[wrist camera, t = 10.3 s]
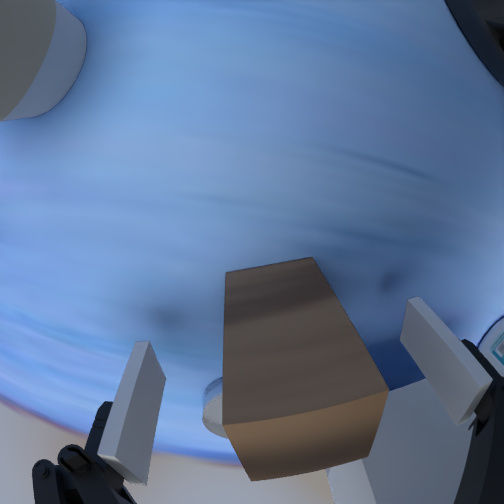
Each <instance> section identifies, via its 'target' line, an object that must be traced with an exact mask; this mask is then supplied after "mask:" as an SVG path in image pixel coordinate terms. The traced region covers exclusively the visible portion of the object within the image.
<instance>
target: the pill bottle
mask: <svg viewBox="0 0 504 504" xmlns="http://www.w3.org/2000/svg"><path fill="white" fill-rule="evenodd" d="M478 349H479V350H480V352H481V353H483V352H485V351H487V352H488V353H489V354H490V355H491V356H492V357H493V359H494V360H495V361H496V362H497V363H498V364H499V365H500V367H501V368H502V369H503V370H504V318H502V319H501V320H500V321H498V322H497V323H496V324H495V325H494V326H493V327H492V328H491V329H490V331H489V332H488V333H487V334H486V336H485V337H484V339H483V340H482V342H481V344H480V346H479V348H478Z"/></svg>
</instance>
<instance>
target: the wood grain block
mask: <svg viewBox="0 0 504 504" xmlns="http://www.w3.org/2000/svg"><path fill="white" fill-rule="evenodd" d="M388 392H389V388H388V386H387V384H386V382H385V381H384V379H383V377H382V375H381V373H380V371H379V370H378V368H377V366H376V364H375V362H374V360H373V359H372V357H371V355H370V353H369V352H368V350H367V348H366V346H365V344H364V343H363V341H362V339H361V337H360V336H359V334H358V332H357V330H356V329H355V327H354V325H353V324H352V322H351V320H350V318H349V317H348V315H347V313H346V312H345V310H344V308H343V306H342V305H341V303H340V301H339V300H338V298H337V296H336V295H335V293H334V291H333V290H332V288H331V286H330V285H329V283H328V282H327V280H326V278H325V277H324V275H323V273H322V272H321V270H320V269H319V267H318V265H317V264H316V262H315V261H314V259H313V257H309V258H304V259H298V260H293V261H288V262H282V263H277V264H271V265H266V266H260V267H255V268H249V269H243V270H238V271H232V272H226V276H225V303H224V336H223V385H222V426H223V428H224V430H225V432H226V434H227V436H228V438H229V440H230V442H231V444H232V446H233V448H234V450H235V452H236V454H237V456H238V458H239V460H240V462H241V463H242V465H243V467H244V469H245V471H246V473H247V474H248V476H249V478H250V480H251V481H259V480H267V479H274V478H280V477H287V476H293V475H299V474H303V473H309V472H314V471H318V470H322V469H327V468H331V467H335V466H338V465H342V464H346V463H349V462H353V461H356V460H359V459H363V458H366V457H368V456H369V453H370V450H371V448H372V445H373V442H374V439H375V436H376V433H377V430H378V427H379V424H380V420H381V417H382V414H383V410H384V407H385V403H386V400H387V396H388Z"/></svg>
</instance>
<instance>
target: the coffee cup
mask: <svg viewBox="0 0 504 504" xmlns="http://www.w3.org/2000/svg"><path fill="white" fill-rule="evenodd" d="M86 48H87V36H86V31H85V28H84V26H83V24H82V23H81V21H80V20H79V19H77V18H76V17H75V16H74V15H73V14H72V13H70V12H69V11H68V10H67V9H66V8H65V7H63V6H62V5H61V4H60V3H59V2H57V1H56V0H0V122H3V121H9V120H15V119H21V118H29V117H35V116H39V115H41V114H44V113H46V112H47V111H49V110H50V109H52V108H53V107H54V106H55V105H57V104H58V103H59V102H60V101H61V100H62V99H63V97H64V96H65V95H66V94H67V93H68V91H69V90H70V88H71V87H72V85H73V84H74V82H75V80H76V78H77V76H78V74H79V72H80V70H81V68H82V65H83V62H84V59H85V54H86Z"/></svg>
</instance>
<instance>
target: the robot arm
mask: <svg viewBox="0 0 504 504" xmlns="http://www.w3.org/2000/svg"><path fill="white" fill-rule="evenodd" d="M446 1H447V3H448V5H449V7H450V9H451V11H452V13H453V15H454V17H455V19H456V20H457V22H458V24H459V26H460V27H461V29H462V31H463V32H464V34H465V36H466V37H467V39H468V40H469V42H470V43H471V45H472V47H473V48H474V50H475V51H476V53H477V54H478V55H479V57H480V58H481V60H482V61H483V62H484V64H485V65H486V66H487V68H488V69H489V70H490V71H491V72H492V74H493V75H494V76H495V77H496V78H497V79H498V80H499V81H500V82H501V83H502V84H503V85H504V0H446ZM400 341H401V342H402V344H403V345H404V347H405V348H406V349H407V351H408V352H409V354H410V355H411V357H412V358H413V360H414V361H415V363H416V364H417V365H418V367H419V368H420V370H421V371H422V373H423V374H424V376H425V377H426V379H427V380H428V382H429V384H430V385H431V387H432V388H433V390H434V391H435V393H436V394H437V396H438V397H439V399H440V401H441V402H442V404H443V405H444V407H445V409H446V410H447V412H448V414H449V415H450V417H451V418H452V420H453V422H454V423H455V425H456V426H458V425H460V424H462V423H463V422H465V421H467V420H469V418H470V417H471V415H472V414H473V412H474V413H475V414H476V417H475V419H474V420H473V422H472V423H471V424H470V426H469V428H468V430H470V429H471V428H472V426H473V430H472V437H471V442H470V447H469V451H468V456H467V460H466V464H465V468H464V472H463V475H462V479H461V482H460V485H459V489H458V492H457V495H456V498H455V501H454V504H504V377H502V376H501V375H500V374H499V373H498V371H497V370H496V369H495V368H494V367H493V365H492V364H491V363H490V362H489V361H488V360H487V358H486V357H484V355H483V354H482V353H481V352H480V350H479V349H478V348H477V347H476V346H475V345H474V344H473V343H471V342H470V341H468V340H466V339H464V340H461V341H460V340H459V339H458V338H457V336H456V335H455V334H454V333H453V332H452V331H451V330H450V329H449V328H448V326H447V325H446V324H445V323H444V322H443V321H442V320H441V319H440V318H439V317H438V316H437V315H436V314H435V313H434V311H433V310H432V309H431V308H430V307H429V306H428V305H427V304H426V303H425V302H424V301H423V300H422V299H421V298H420V297H419V296H418V297H414V298H410V299H407V304H406V310H405V315H404V321H403V326H402V331H401V336H400ZM165 381H166V377H165V375H164V373H163V371H162V369H161V366H160V364H159V362H158V360H157V358H156V355H155V353H154V351H153V348H152V346H151V344H150V341H138V342H135V345H134V347H133V350H132V352H131V355H130V357H129V360H128V363H127V365H126V368H125V371H124V374H123V376H122V379H121V382H120V385H119V387H118V390H117V393H116V396H115V399H114V402H108V401H105V402H104V403H103V404H102V405H101V406H100V408H99V409H98V411H97V414H96V417H95V420H94V422H93V425H92V426H93V427H92V428H91V431H90V434H89V437H88V440H87V443H86V446H85V449H84V450H83V449H82V448H81V447H80V446H78V445H74V444H71V445H68V446H65V447H64V448H63V449H61V451H60V452H59V454H58V458H57V459H58V464H59V465H54V464H53V463H52V462H51V461H49V460H46V459H42V460H39V461H38V462H37V463H35V465H34V467H33V469H32V478H33V490H34V499H35V504H137V503H136V502H135V501H134V499H133V498H132V496H131V495H130V493H129V492H128V490H127V489H126V487H125V486H124V485H123V482H124V479H125V480H127V481H128V482H129V483H131V484H138V485H147V479H148V473H149V466H150V460H151V454H152V448H153V443H154V437H155V431H156V426H157V421H158V416H159V410H160V405H161V400H162V396H163V391H164V386H165Z"/></svg>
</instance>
